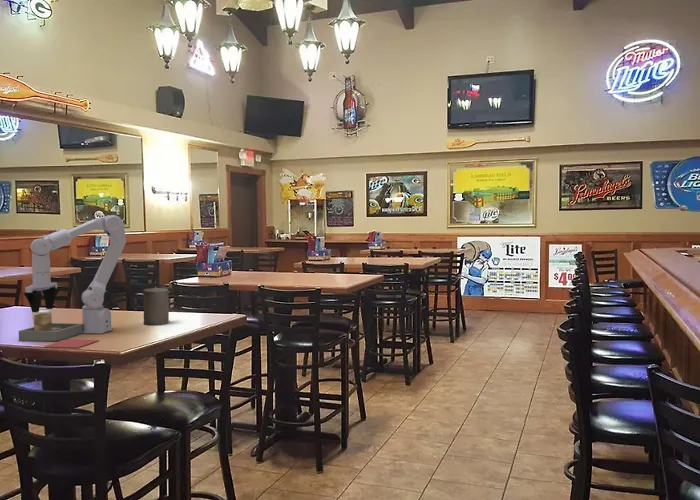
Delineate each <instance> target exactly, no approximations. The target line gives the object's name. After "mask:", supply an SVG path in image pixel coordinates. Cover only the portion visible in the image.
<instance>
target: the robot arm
mask: <svg viewBox="0 0 700 500" xmlns="http://www.w3.org/2000/svg"><path fill="white" fill-rule="evenodd" d="M95 230H97V231H103V232H104V233H105V234H106V235H107V237H108V240H109V241H110V244H109V246H108V247H107V248H108V249H107V250H106V252H105V254H104V256H103V259H102V261H101V263H100V265H99V268H98V269H97V271H96V273H95V276H94V278H93V280H92V281H91V282H90V284H89V285H88V287H87V289H85V290H84V291H83V292H82V293H81V301H82V303H83V304H84V305H83V306H82V307H81V308H82V309H81V312H82V313H81V314H82V319H81V320H82V324H84V332H82V333H83V334H104V333H106V332H110V331H112V330H113V328H112V312H111V310H110V309H109V308H107V307H106V308H105V307H104V305H103V304H104V300H105V299H104V297H105V293H106V288H107V284H108V282H109V280H110V278H111V276H112V274H113V272H114V269H115V267H116V265H117V264H118V261H119V259H120V256H121V255H122V252H123V250H124V247H125V246H126V243H127V237H126V231H125V230H126V229H125V224H124V222H123V220H122V218H121V217H119V216H118V215H117V214H112V215H104V216H103V217H98V218H93V219H91V220H89V221H86V222H84V223H83V224H80V225H77V226H75V227H73V228H70V229H69V230H68V229H65V228H57V229H55V231H54V232H51V233H50V234H47V235H46V234H43V235H42V236H41V237H42V238H37V239H34V240H33V241H32V242H31V243H30V247H29V249H30V251H31V252H32V253H31V258H32V259H31V270H32V272H31V273H32V275H31V276H32V277H31V278H32V284H30V285H29V286H25V292H23V295H24V297H25V298H26V300H27V301H28V303H29V306H30V309H31V313H32V312H39V310H40V303H41V302H40V301H41V298H42V295H43V297H44V304H45V310H53V308H54V305H55V300H56V297H57V295H58V294H59V291H60V289H59V288H58V282H52V281H51V277H52V276H51V259H50V252H51V250H52V251H55V250H57V249H60V248H62V247H64V246H66V245H69V244H71V243H72V240H73V239H74V238H76V237H79V236H81V235H85V234H86V233H90V232H92V231H95ZM39 291H41V292H39Z"/></svg>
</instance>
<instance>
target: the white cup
mask: <svg viewBox="0 0 700 500" xmlns="http://www.w3.org/2000/svg"><path fill="white" fill-rule="evenodd" d="M52 311H53V309H39V312H32V311H31V315H32V322H33V323H32V324H33V326H34V315H37V314H41V313H42V314H51V315H52Z"/></svg>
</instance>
